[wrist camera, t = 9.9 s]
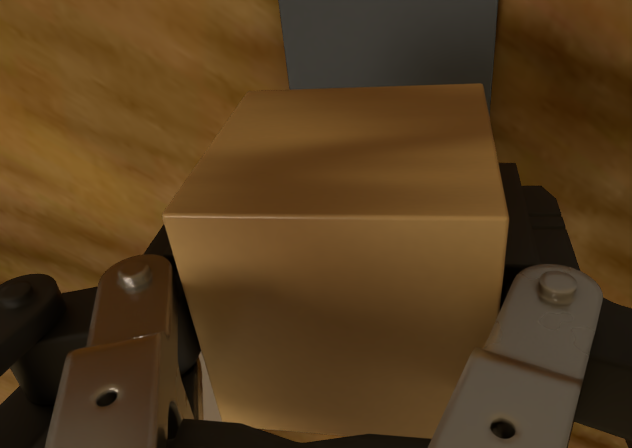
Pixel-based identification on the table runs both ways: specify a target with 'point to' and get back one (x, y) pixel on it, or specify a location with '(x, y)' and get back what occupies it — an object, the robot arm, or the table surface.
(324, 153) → the beech block
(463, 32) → the mat
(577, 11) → the table surface
